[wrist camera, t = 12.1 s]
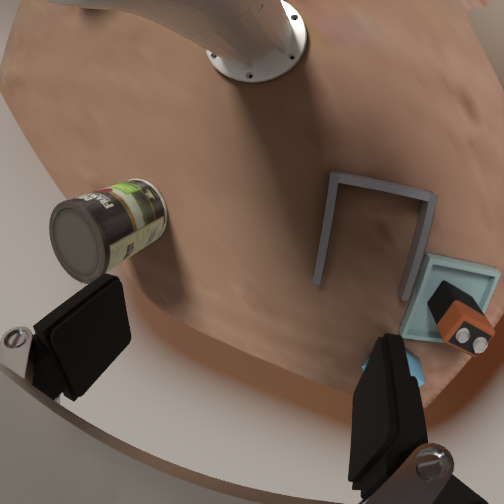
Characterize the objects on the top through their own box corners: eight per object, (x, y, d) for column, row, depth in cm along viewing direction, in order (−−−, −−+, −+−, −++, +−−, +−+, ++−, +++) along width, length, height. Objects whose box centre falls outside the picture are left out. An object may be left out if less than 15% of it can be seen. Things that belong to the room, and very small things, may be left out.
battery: (456, 319, 35) (477, 363, 26) (425, 303, 35) (443, 348, 26) (473, 296, 33) (499, 337, 24) (442, 277, 33) (467, 318, 25)
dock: (330, 170, 33) (330, 172, 31) (431, 191, 31) (437, 195, 28) (313, 275, 39) (312, 284, 37) (404, 291, 36) (407, 301, 34)
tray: (425, 251, 33) (430, 257, 32) (495, 267, 31) (500, 273, 29) (398, 329, 38) (400, 337, 37) (464, 337, 36) (468, 345, 34)
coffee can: (113, 176, 41) (44, 197, 29) (168, 181, 39) (100, 206, 27) (116, 237, 45) (55, 273, 33) (168, 249, 43) (109, 294, 31)
